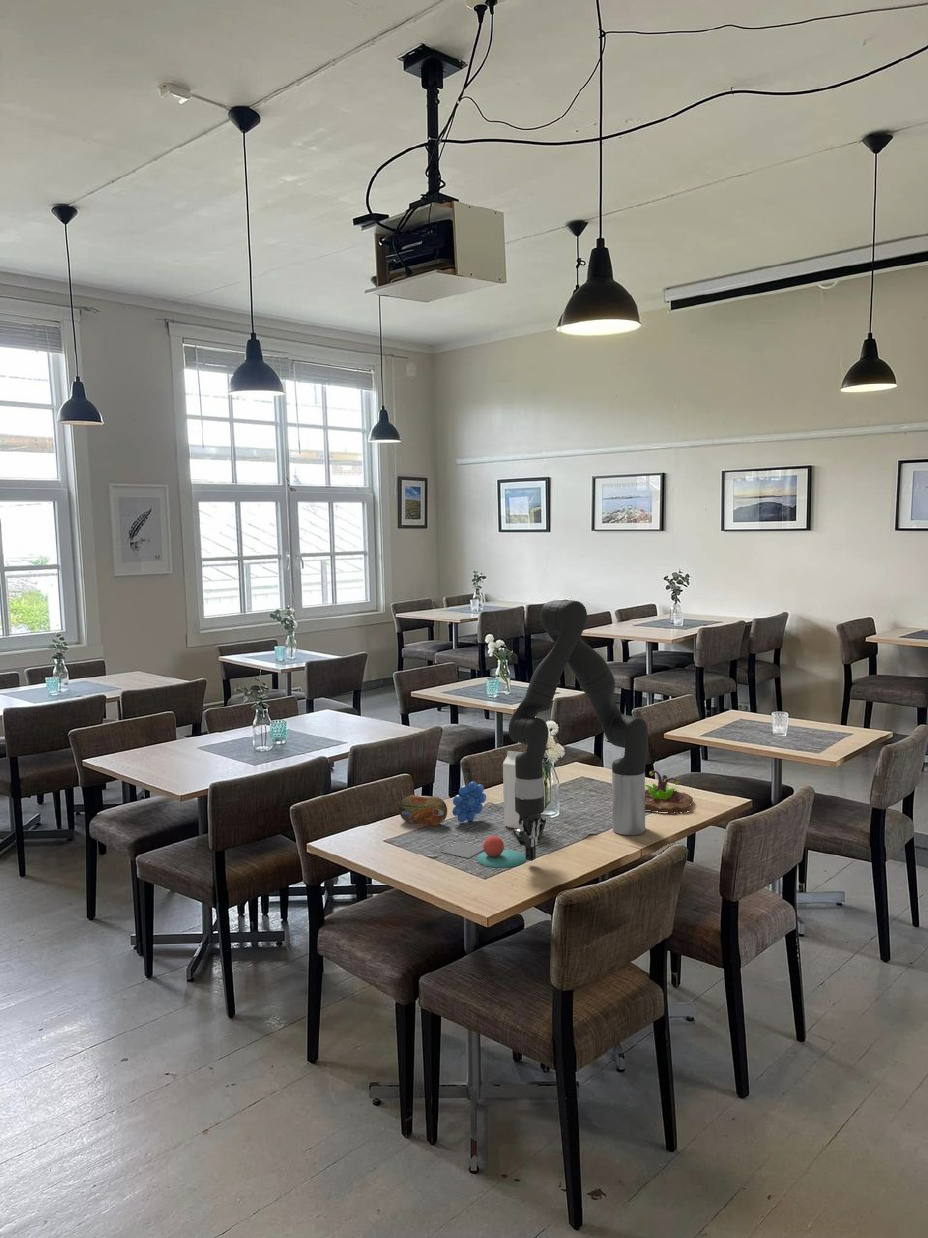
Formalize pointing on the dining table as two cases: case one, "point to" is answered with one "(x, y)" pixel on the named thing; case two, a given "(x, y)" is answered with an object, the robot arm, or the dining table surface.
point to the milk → (510, 790)
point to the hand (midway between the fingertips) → (530, 859)
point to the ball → (493, 846)
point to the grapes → (469, 802)
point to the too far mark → (463, 850)
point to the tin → (423, 810)
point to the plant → (666, 797)
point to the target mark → (502, 859)
